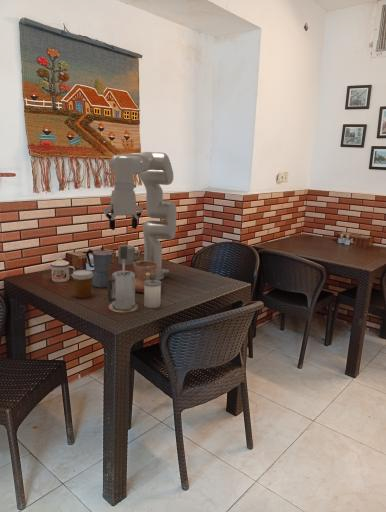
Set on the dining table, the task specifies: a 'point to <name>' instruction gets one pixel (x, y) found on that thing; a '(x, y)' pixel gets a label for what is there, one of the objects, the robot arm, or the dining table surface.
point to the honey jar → (82, 283)
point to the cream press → (152, 292)
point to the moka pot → (100, 266)
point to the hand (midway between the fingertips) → (123, 228)
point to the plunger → (123, 256)
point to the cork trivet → (123, 311)
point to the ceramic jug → (143, 273)
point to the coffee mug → (128, 255)
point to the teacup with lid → (60, 270)
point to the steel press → (122, 290)
